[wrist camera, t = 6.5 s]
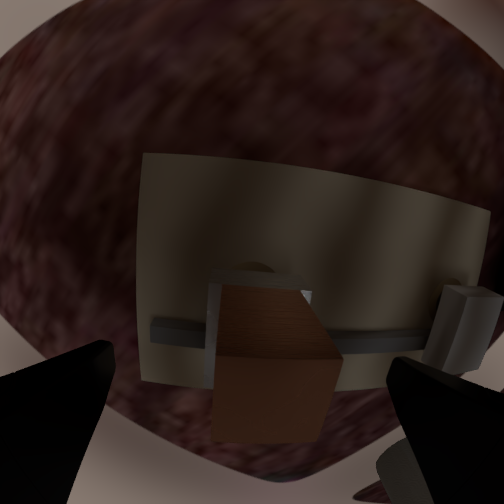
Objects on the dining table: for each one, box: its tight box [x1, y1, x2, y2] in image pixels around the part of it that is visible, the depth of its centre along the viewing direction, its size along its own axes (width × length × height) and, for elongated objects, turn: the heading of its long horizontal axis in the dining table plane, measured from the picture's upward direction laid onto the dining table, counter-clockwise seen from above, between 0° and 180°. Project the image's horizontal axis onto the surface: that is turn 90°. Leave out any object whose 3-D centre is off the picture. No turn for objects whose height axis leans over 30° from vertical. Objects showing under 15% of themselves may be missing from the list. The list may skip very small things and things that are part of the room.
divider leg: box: [204, 268, 344, 443], centre depth 11 cm, size 4×5×8 cm
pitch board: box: [136, 153, 504, 391], centre depth 14 cm, size 22×13×5 cm, turn 84°
